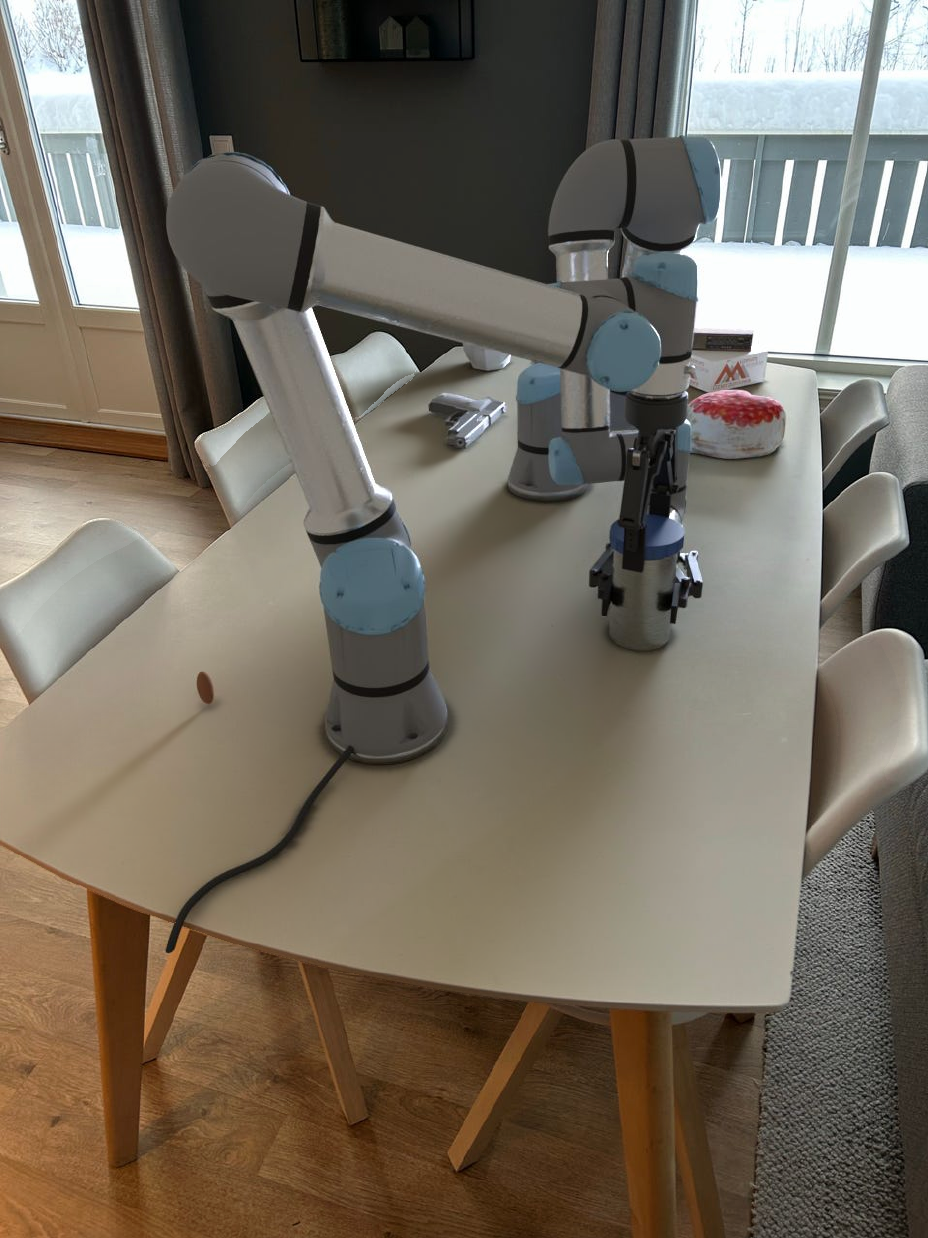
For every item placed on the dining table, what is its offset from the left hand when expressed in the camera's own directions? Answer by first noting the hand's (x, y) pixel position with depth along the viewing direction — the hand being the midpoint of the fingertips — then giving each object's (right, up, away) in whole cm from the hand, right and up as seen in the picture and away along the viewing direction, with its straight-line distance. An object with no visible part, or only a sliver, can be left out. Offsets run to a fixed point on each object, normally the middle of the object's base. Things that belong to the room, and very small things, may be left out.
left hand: (645, 552), depth 122 cm
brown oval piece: (-58, -20, -3) cm, 62 cm away
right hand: (-1, -8, 0) cm, 8 cm away
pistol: (-27, +34, +83) cm, 94 cm away
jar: (+1, -11, +7) cm, 13 cm away
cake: (+32, +29, +70) cm, 83 cm away
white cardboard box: (+39, +51, +105) cm, 123 cm away
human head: (-18, +60, +123) cm, 138 cm away
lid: (0, +3, -2) cm, 3 cm away
